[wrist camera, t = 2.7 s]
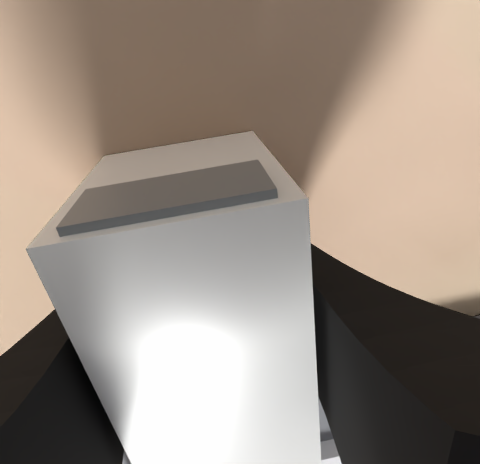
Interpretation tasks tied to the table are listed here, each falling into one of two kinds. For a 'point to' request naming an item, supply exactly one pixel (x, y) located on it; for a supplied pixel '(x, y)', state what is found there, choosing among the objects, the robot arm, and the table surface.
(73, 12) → the table surface
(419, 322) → the robot arm
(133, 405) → the block
